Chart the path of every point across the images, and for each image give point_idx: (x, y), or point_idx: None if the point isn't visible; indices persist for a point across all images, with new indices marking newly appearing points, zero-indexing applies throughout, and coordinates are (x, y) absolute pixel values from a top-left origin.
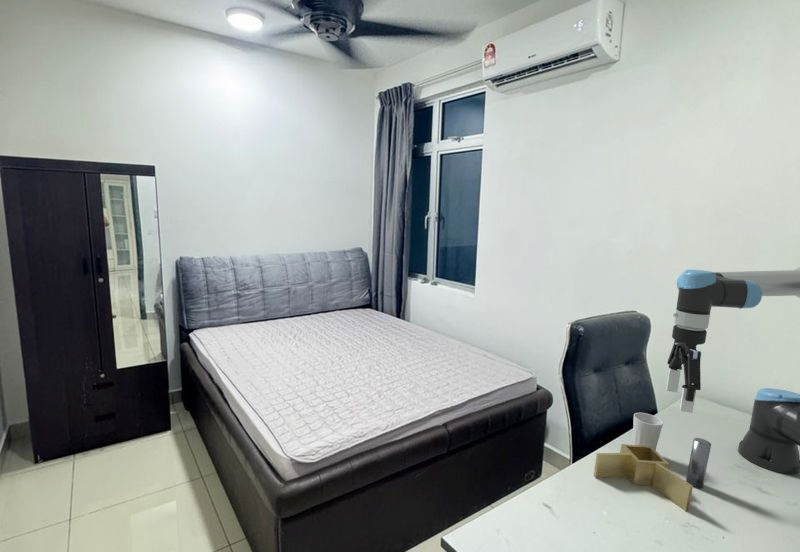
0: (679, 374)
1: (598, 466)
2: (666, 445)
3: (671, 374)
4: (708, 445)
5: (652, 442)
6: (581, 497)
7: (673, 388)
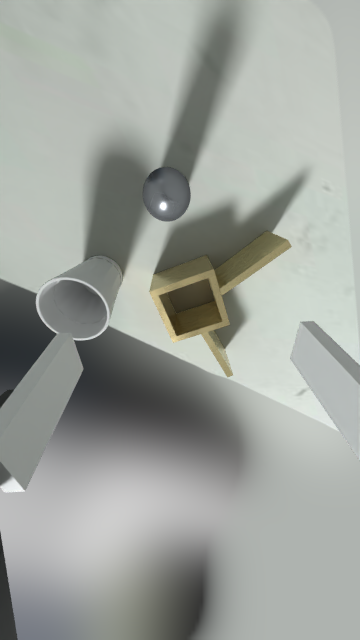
0: (11, 424)
1: (227, 359)
2: (18, 216)
3: (38, 447)
4: (185, 181)
5: (111, 279)
6: (276, 364)
7: (70, 360)
